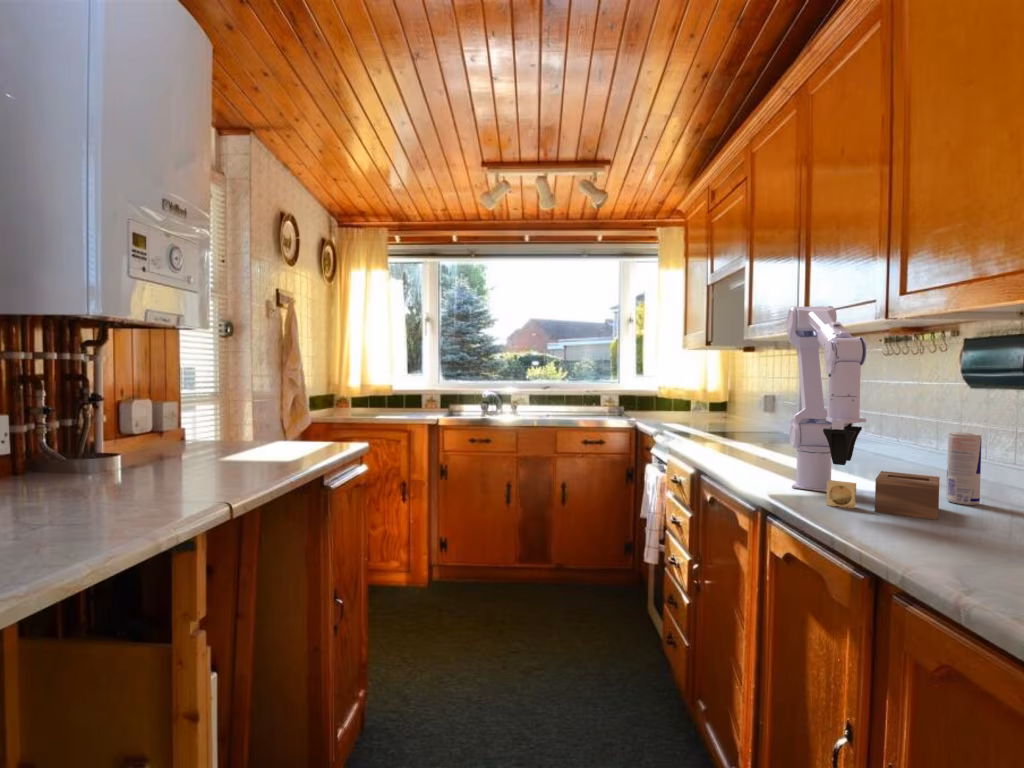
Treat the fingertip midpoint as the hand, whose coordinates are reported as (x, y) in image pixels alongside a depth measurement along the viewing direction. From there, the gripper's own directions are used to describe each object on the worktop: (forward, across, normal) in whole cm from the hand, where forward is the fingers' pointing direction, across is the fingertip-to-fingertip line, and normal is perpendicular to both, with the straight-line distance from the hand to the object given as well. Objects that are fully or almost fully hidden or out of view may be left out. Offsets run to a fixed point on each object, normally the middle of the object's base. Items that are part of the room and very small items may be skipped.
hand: (842, 462), depth 117 cm
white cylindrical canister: (+9, +21, -20) cm, 30 cm away
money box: (+9, +5, -11) cm, 15 cm away
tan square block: (+9, 0, 0) cm, 9 cm away
